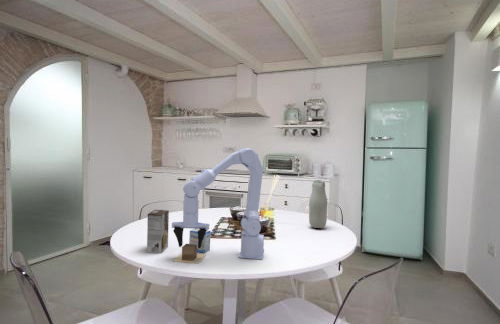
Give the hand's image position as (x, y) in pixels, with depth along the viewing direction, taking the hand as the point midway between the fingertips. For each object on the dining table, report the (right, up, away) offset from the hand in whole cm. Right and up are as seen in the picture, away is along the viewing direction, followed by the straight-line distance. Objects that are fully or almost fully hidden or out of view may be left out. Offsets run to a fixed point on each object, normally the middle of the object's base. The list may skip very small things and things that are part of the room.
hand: (190, 246), depth 118 cm
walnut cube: (0, -5, 0) cm, 5 cm away
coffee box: (-16, -4, +10) cm, 19 cm away
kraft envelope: (0, -5, +1) cm, 5 cm away
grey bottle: (+62, -6, +57) cm, 85 cm away
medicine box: (+2, -5, +11) cm, 12 cm away
